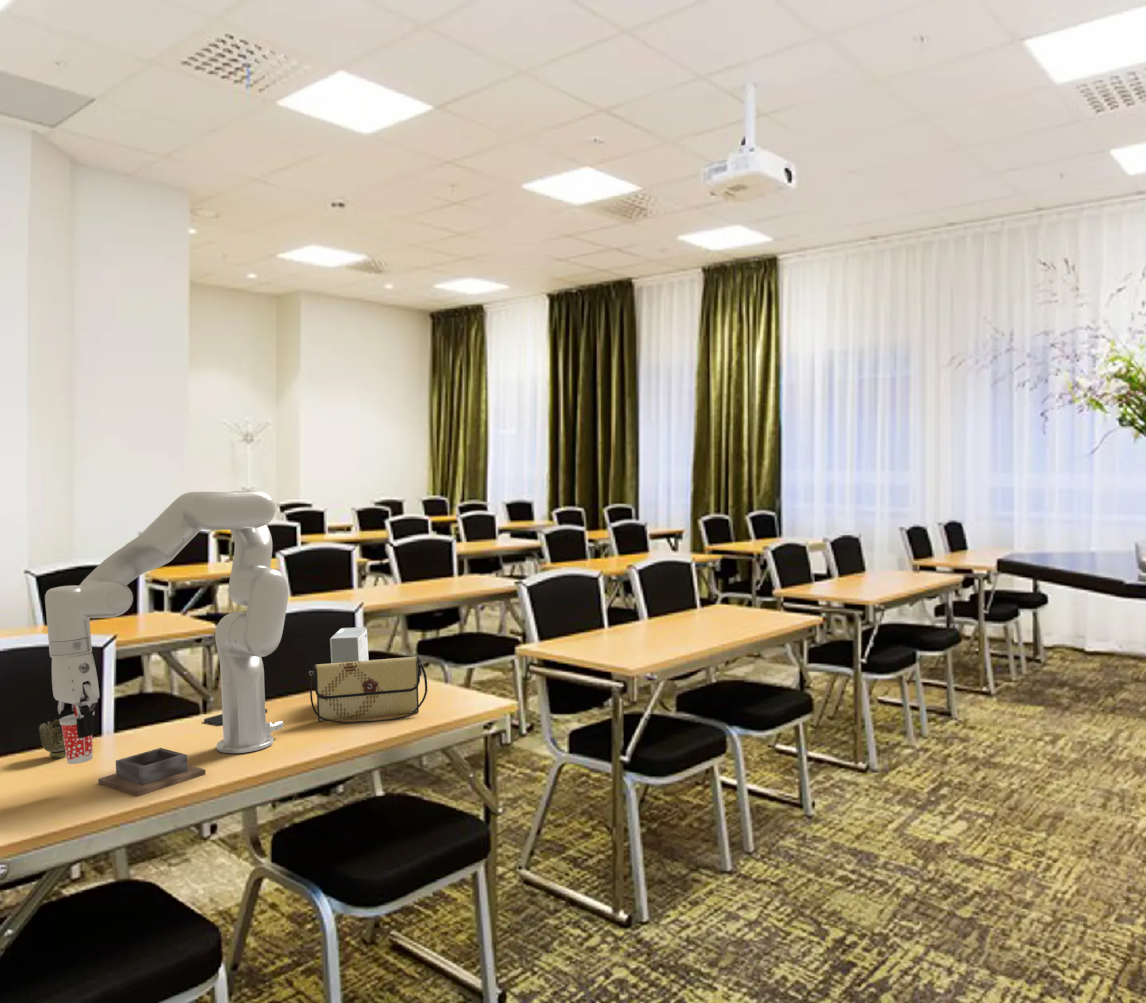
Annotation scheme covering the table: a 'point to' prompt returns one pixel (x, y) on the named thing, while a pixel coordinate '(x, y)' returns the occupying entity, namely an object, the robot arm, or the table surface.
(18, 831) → the table surface
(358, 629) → the hard drive box
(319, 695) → the clutch purse
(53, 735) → the cup
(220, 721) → the phone
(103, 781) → the socket board
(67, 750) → the beverage cup
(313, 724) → the table surface
